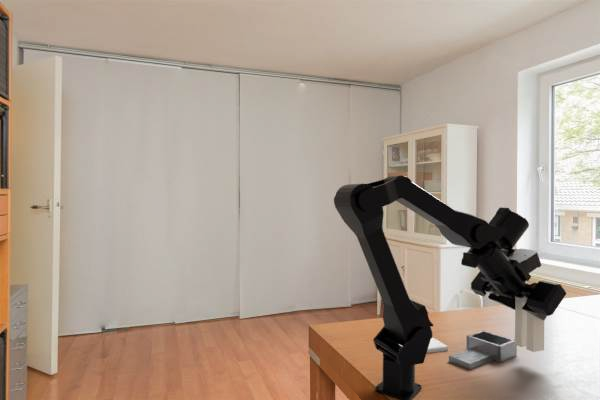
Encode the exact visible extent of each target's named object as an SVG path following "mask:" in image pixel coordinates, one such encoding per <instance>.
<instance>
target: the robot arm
mask: <svg viewBox="0 0 600 400" xmlns="http://www.w3.org/2000/svg"><path fill="white" fill-rule="evenodd" d="M394 202H398V203H400V204H401V205H402V206H404V207H406V208H407V209H408V210H410V211H413V212H414V213H415V214H417V215H419V216H420V217H422V218H423V219H424V220H426V221H428V222H429V223H431V224H433V225H435V227H436V228H438V230H439V232H440V234H441V235H442V236H443V237H444V238H445V239H446V240H447V241H448V242H449V243H451V244H452V245H455V246H457V247H458V246H459V247H466V248H469V249H468V250H467V252H462V255H463V256H462V259H461V261H460V262H461V263H460V264H461V266H465V267H468V268H473V269H476V268H478V270H479V272H478V273H477V274H476V276H475V277H474V278H473V279H472V281H471V282H470V289H471V291H473V292H474V294H475V295H479V296H482V297H486V295H487V293H488V296H487V298H488V299H489V300H491V301H494V302H496V303H498V304H500V305H503V306H505V307H507V308H509V309H511V310H513V311H515V297H517V298H520V299H523V298H524V297H525V298H526V299H527V300H526V303H525V305H524V306H523V307H522V309H523V310H525V311H527V312H528V313H530V314H532V315H534V316H536V317H538V318H540V319H541V320H544V321H545V320H546V319H547V317H549V316H551V315H554V314H555V311H556V310H557V308H558V307H559V305H560V304H561V302H562V301H563V300H564V298H565V297H566V295H567V292H566V290H565V288H564V287H563V286H562V284H561V283H556V282H552V281H547V280H539V281H538V282H532V283H530V284H529V283H526V282H529V281H530V279H531V278H532V276H531V273H532V272H533V271H535V270H536V269H537V268H541V267H542V263H541V260H540V257H539V253H538V251H537V250H533V249H527V248H514V247H515V245H516V244H517V243H518V242H519V240H520V239H521V238H522V236H523V235H524V234H525V233H526V231H527V230H528V229H529V227H530V224H529V221H528V220H527V218H525V217H523V216H521V215H520V214H519V213H517V212H515V211H512V210H511V209H510V208H509V207H505V206H504V207H499V208H498V209H497V210H496V213H495V214H494V216H493V217H492V219H490V221H489V222H488V221H486V220H485V219H484V218H481V217H479V216H476V215H474V214H470V213H468V212H467V213H466V212H464V211H463V212H462V211H460V210H457V209H455V208H453V207H452V206H450V205H449V204H447V203H445V202H444V201H442V200H441V199H439V198H438V197H436V196H434V195H433V194H432V193H430V192H428V191H427V190H425V189H424V188H422V187H421V186H419V185H418V184H416V183H414V182H413V181H412V179H410V178H409V177H408V176H406V175H391V176H387V177H386V178H383V179H380V180H376V181H372V182H369V183H351V184H344V185H342V186H340V187H339V189H338V190H336V193H335V195H334V198H333V203H334V208H335V210H336V211H337V212H338V214H339V216H340V218H341V219H342V221H343V222H344V223H345V225H346V226H347V227H348V228H349V229H350V230H351V231H352V232H353V233H354V235H355V236H356V238H357V241H358V243H359V245H360V248H361V250H362V253H363V256H364V259H365V260H366V262H367V265H368V268H369V271H370V273H371V276H372V278H373V280H374V283H375V284H376V285H375V286H376V288H377V290H378V293H379V295H380V296H379V297H380V298H381V300H382V304H383V311H382V320H383V327H382V328H381V329H380V330H379V332H378V333H377V334H376V335H375V336H374V338H373V340H372V341H373V344H374V347H375V349H376V350H377V351H380V352H381V353H382V380H381V381H380V382H379V383H378V384H377V385H376V386H375V387H374V389H375V390H374V391H376V392H378V393H380V394H381V393H382V394H385V395H387V396H390V397H393V398H396V399H399V400H411V399H412V398H414V397H415V396H416V395H417V394H418V392H419V393H420V391H421V389H422V388H423V387H422V384H420V383H416V365H420V364H424V362H425V358H426V356H427V354H428V353H427V350H428V346H429V343H430V340H431V338H432V337H433V330H432V327H434V323H433V322H432V321H431V320H430V318H429V315H428V309H427V308H426V306H425V305H423V304H421V303H419V302H417V301H414V300H411V299H410V296H409V294H408V292H407V289H406V287H405V283H404V280H403V279H402V275H401V273H400V271H399V270H400V269H398V266H397V264H396V261H395V259H394V256H393V253H392V250H391V248H390V246H389V243H388V240H387V238H386V235H385V232H384V229H383V223H384V221H383V220H384V209H383V208H384V207H385V206H387V205H390V204H392V203H393V204H394ZM399 344H400V345H399ZM401 345H402V346H403V347H402V346H401Z"/></svg>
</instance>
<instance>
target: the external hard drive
mask: <svg viewBox="0 0 600 400" xmlns="http://www.w3.org/2000/svg"><path fill="white" fill-rule="evenodd" d="M399 345H400V344H399ZM401 346H402V345H401ZM402 347H403V346H402ZM447 351H449V347H448V345H446V344H445V343H443V342H441V341H439V340H438V339H436V338H434V337H433V336H432V338H431V340H430V343H429V346H428V350H427V353H426V354H430V353H431V354H432V353H440V352H447Z"/></svg>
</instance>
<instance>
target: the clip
mask: <svg viewBox="0 0 600 400" xmlns="http://www.w3.org/2000/svg"><path fill="white" fill-rule="evenodd" d="M526 300H527V299H526V298H525V297H524V298H523V299H520V298H517V297H515V310H514V314H515V315H514V316H515V317H514V340H515V345H517V346H518V347H520V348H524V347H526V350H527V351H530V352H532V353H536V352H541V351H544V350H545V320H541V319H540V318H538V317H536V316H534V315H532V314H530V313H528V312H527V311H525V310H523V309H522V307H523V306H524V305H525V303H526Z"/></svg>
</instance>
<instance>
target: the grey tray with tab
mask: <svg viewBox="0 0 600 400" xmlns="http://www.w3.org/2000/svg"><path fill="white" fill-rule="evenodd" d="M517 346H518V345H515V339H513V338H510V337H506V336H502V335H499V334H497V333H494V332H493V333H492V332H490V331H486V330H480V331H476V332H474V333H470V334H466V346H465V347H466V349H464V350H461V351H458V352H455V353H452V354H449V355H448V362H450V363H452V364H455V365H457V366H460V367H462V368H465V369H467V370H473V369H475V368H478V367H480V366H483V365H485V364H487V363H491V362H492V361H496V362H498V363H503V362H505V361H508V360H510V359H512V358H514V357H517V353H518V348H517Z"/></svg>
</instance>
